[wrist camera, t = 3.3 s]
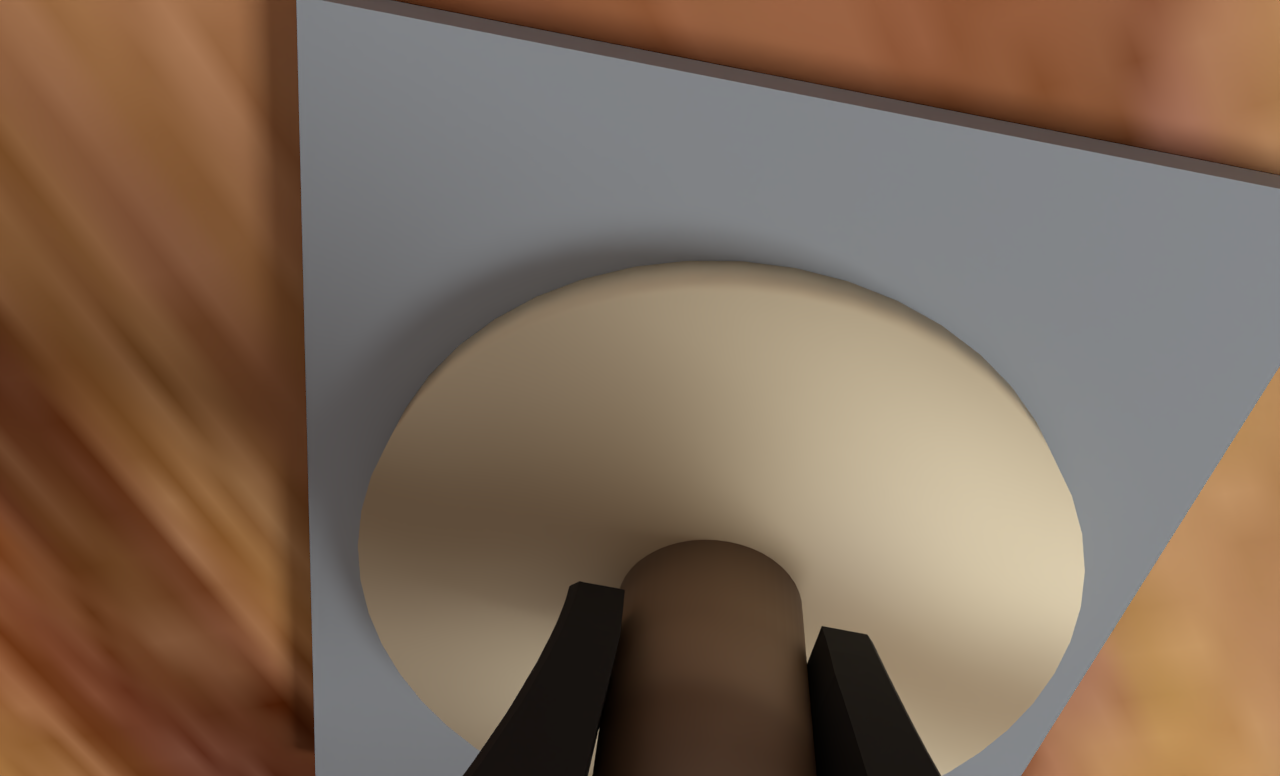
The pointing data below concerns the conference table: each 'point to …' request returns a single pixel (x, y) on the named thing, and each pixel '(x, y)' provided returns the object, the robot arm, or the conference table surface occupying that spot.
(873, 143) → the mat
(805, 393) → the lid
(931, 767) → the robot arm
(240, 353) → the conference table surface
